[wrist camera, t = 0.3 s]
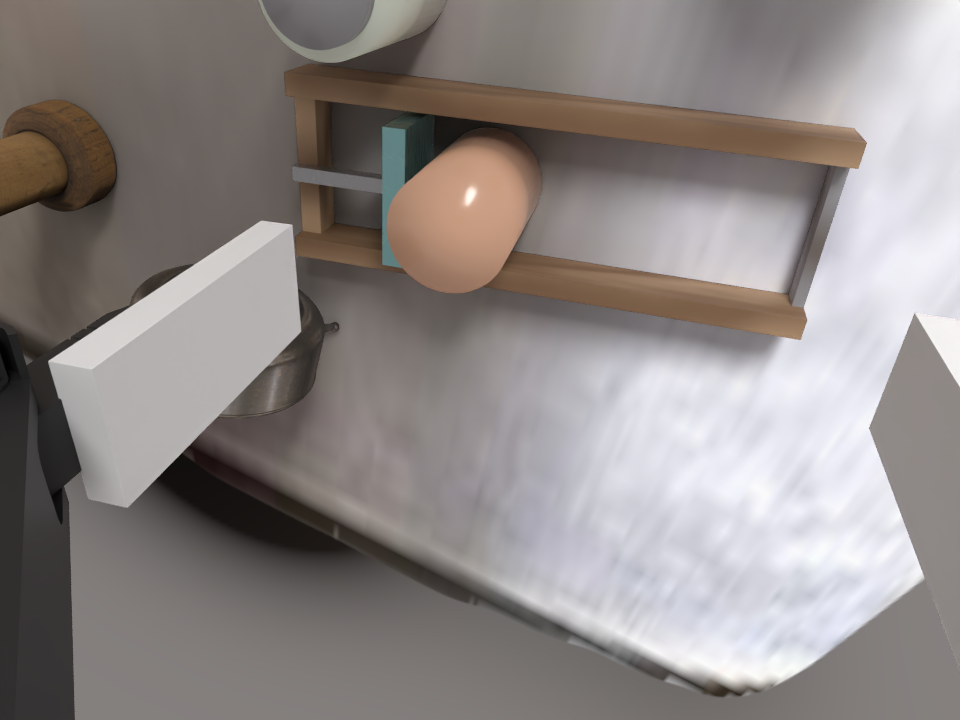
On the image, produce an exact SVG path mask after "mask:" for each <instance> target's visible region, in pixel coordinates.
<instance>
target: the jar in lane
mask: <svg viewBox="0 0 960 720" xmlns="http://www.w3.org/2000/svg"><path fill="white" fill-rule="evenodd" d="M541 191H542V173H541V169H540V166H539V163H538V160H537V158H536V156H535V155H534V153H533V152H532V150H531V149H530V148H529V146H528V145H527V144H526V143H525V142H524V141H523V140H521V139H520V138H519V137H517V136H516V135H514V134H512V133H510V132H508V131H505V130H502V129H498V128H479V129H474V130H472V131H469V132H467V133H465V134H463V135H462V136H460V137H459V138H458V139H456V140H455V141H454V142H453V143H452V144H451V145H449V146H448V147H447V148H446V149H445V150H444V151H443V152H441V153H440V154H439V155H438V156H437V157H436V158H435V159H433V160H432V161H431V162H430V163H429V164H428V165H427V166H425V167H424V168H423V169H422V170H421V171H420V172H418V173H417V174H416V175H415V176H414V177H413V178H412V179H410V180H409V181H408V182H407V183H406V184H405V185H404V186H403V187H402V188H401V189H400V190H399V191H398V192H397V194H396V195H395V197H394V199H393V200H392V202H391V205H390V208H389V211H388V215H387V236H388V241H389V244H390V247H391V250H392V252H393V254H394V256H395V258H396V260H397V261H398V263H399V264H400V266H401V267H402V268H403V269H404V270H405V271H406V272H407V274H408V275H410V276H411V277H412V278H413V279H414V280H416V281H417V282H419V283H420V284H422V285H424V286H426V287H428V288H430V289H433V290H436V291H439V292H444V293H466V292H470V291H473V290H476V289H478V288H481V287H482V286H484V285H486V284H487V283H489V282H490V281H491V280H492V279H493V278H494V277H495V276H496V275H497V274H498V273H499V271H500V270H501V268H502V267H503V265H504V263H505V261H506V260H507V258H508V256H509V254H510V252H511V251H512V249H513V247H514V245H515V244H516V242H517V240H518V238H519V237H520V235H521V233H522V231H523V229H524V228H525V226H526V224H527V222H528V221H529V219H530V217H531V215H532V213H533V212H534V210H535V208H536V206H537V204H538V202H539V199H540V196H541Z"/></svg>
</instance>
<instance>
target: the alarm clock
mask: <svg viewBox="0 0 960 720" xmlns="http://www.w3.org/2000/svg"><path fill="white" fill-rule="evenodd" d="M193 265H195V264H191V265H184V266H179V267H175V268H171V269H168V270H165V271H162V272H160V273H158V274H156V275H154V276H152V277H151V278H149V279H148V280H146V281H145V282H144V283H143V284H142V285H141V286H140V287H139V288H138V289H137V290H136V292H135V293H134V295H133V296H132V299H131V302H130V305H132V304H136V303H137V302H139V301H140V300H142V299H143V298H145V297H146V296H148V295H149V294H151V293H152V292H154V291H155V290H157V289H158V288H160V287H161V286H163V285H164V284H166V283H167V282H169V281H170V280H172V279H173V278H175V277H177V276H178V275H180V274H181V273H183V272H184V271H186V270H187V269H189V268H190V267H192V266H193ZM298 299H299V311H300V322H301V332H300V333H299V334H298V335H297V336H296V337H295V338H294V339H293V340H292V341H291V343H290V344H289V345H288V346H287V347H286V348H285V349H284V350H283V351H282V352H281V353H280V354H279V355H278V356H277V357H276V358H275V359H274V360H273V361H272V362H271V363H270V364H269V365H268V366H267V367H266V368H265V369H264V370H263V371H262V372H261V373H260V374H259V375H258V376H257V377H256V378H255V379H254V380H253V381H252V382H251V383H250V384H249V385H248V386H247V387H246V388H245V389H244V390H243V391H242V392H241V393H240V394H239V395H238V396H237V397H236V398H235V399H234V400H233V401H232V402H231V403H230V404H229V405H228V406H227V407H226V408H225V409H224V410H223V411H222V413H221V414H220V415H219V416H218V418H234V419H240V418H252V417H259V416H264V415H268V414H272V413H275V412H278V411H281V410H284V409H286V408H288V407H290V406H292V405H294V404H296V403H297V402H299V401H300V400H301V399H303V398H304V397H305V396H306V395H307V394H308V393H309V391H310V390H311V388H312V386H313V384H314V381H315V378H316V370H317V365H318V361H319V356H320V352H321V348H322V343H323V338H324V332H327V331H330V330H332V331H337V330H338V329H339V324H338V323H337V322H334V323H331V324H324V321H323V318H322V316H321V313H320V312H319V310H318V308H317V307H316V305H315V304H314V303H313V302H312V301H311V299H310V298H309V297H308V296H306V295H305V294H304V293H303V292H302V291H300V290H299V289H298Z"/></svg>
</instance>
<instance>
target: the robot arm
mask: <svg viewBox="0 0 960 720" xmlns="http://www.w3.org/2000/svg"><path fill="white" fill-rule="evenodd" d="M300 332H301V322H300V311H299V299H298V287H297V275H296V263H295V251H294V239H293V227H292V225H289V224H282V223H275V222H268V221H260V222H258V223H257V224H255V225H254V226H252V227H251V228H249V229H248V230H246V231H245V232H243V233H242V234H240V235H239V236H237V237H236V238H234V239H233V240H231V241H230V242H228V243H227V244H225V245H224V246H222V247H221V248H219V249H217V250H216V251H214V252H213V253H211V254H210V255H208V256H207V257H205V258H204V259H202V260H201V261H199V262H198V263H196V264H195V265H193V266H192V267H190V268H189V269H187V270H186V271H184V272H183V273H181V274H180V275H178V276H177V277H175V278H173V279H172V280H170V281H169V282H167V283H166V284H164V285H163V286H161V287H160V288H158V289H157V290H155V291H154V292H152V293H151V294H149V295H148V296H146V297H145V298H143V299H142V300H140V301H139V302H137V303H136V304H132V305H129V306H127V307H124V308H121V309H118V310H116V311H113V312H110V313H107V314H106V315H104V316H103V317H101V318H99V319H98V320H96V321H95V322H93V323H92V324H90V325H89V326H87V329H82V330H81V331H79V332H78V333H76V334H75V335H73V336H72V337H71V340H69V339H67V340H65V341H64V342H62V343H61V344H59V345H58V346H56V347H54V348H53V349H51V350H50V351H48V352H47V353H45V354H44V355H42V356H40V357H39V358H37V359H36V360H34V361H33V362H31V363H30V364H28V365H26V363H25V359H24V356H23V353H22V350H21V346H20V343H19V340H18V337H17V334H16V332H15V329H14V327H12V326H9V325H7V324H5V323H0V720H75V714H74V712H75V711H74V678H73V677H74V676H73V638H72V602H71V569H70V568H71V566H70V527H69V501H68V498H67V495H66V492H65V488H64V485H65V484H67V483H68V482H69V481H70V480H71V479H72V478H73V477H75V476H76V475H77V474H78V473H79V472H80V473H81V476H82V480H83V483H84V486H85V490H86V493H87V497H88V499H90V500H95V501H99V502H104V503H108V504H113V505H117V506H121V507H126V508H128V507H129V506H130V505H131V504H132V503H133V502H134V501H135V500H136V499H137V497H139V496H140V495H141V494H142V493H143V492H144V491H145V490H146V489H147V488H148V486H150V485H151V484H152V482H153V481H154V480H155V479H156V478H157V477H158V476H159V475H160V474H161V473H162V472H163V471H164V470H165V469H166V468H167V467H168V466H169V465H170V464H171V463H172V462H173V461H174V460H175V459H176V458H177V457H178V456H179V455H180V454H181V453H182V452H183V451H184V450H185V449H186V448H187V447H188V446H189V445H190V444H191V443H192V442H193V441H194V440H195V439H196V438H197V437H198V436H199V435H200V434H201V433H202V432H203V431H204V430H205V429H206V428H207V427H208V426H209V425H210V424H211V423H212V422H213V421H214V420H215V419H216V418H217V417H218V416H219V415H220V414H221V413H222V411H223V410H224V409H225V408H226V407H227V406H228V405H229V404H230V403H231V402H232V401H233V400H234V399H235V398H236V397H237V396H238V395H239V394H240V393H241V392H242V391H243V390H244V389H245V388H246V387H247V386H248V385H249V384H250V383H251V382H252V381H253V380H254V379H255V378H256V377H257V376H258V375H259V374H260V373H261V372H262V371H263V370H264V369H265V368H266V367H267V366H268V365H269V364H270V363H271V362H272V361H273V360H274V359H275V358H276V357H277V356H278V355H279V354H280V353H281V352H282V351H283V350H284V349H285V348H286V347H287V346H288V345H289V344H290V343H291V341H292V340H293V339H294V338H295V337H296V336H297V335H298V334H299V333H300ZM869 429H870V432H871V434H872V437H873V440H874V442H875V445H876V448H877V451H878V453H879V456H880V459H881V461H882V464H883V467H884V469H885V472H886V475H887V477H888V480H889V483H890V486H891V488H892V491H893V494H894V496H895V499H896V502H897V504H898V507H899V510H900V512H901V515H902V518H903V521H904V523H905V526H906V529H907V531H908V534H909V537H910V539H911V542H912V545H913V547H914V550H915V553H916V556H917V558H918V561H919V564H920V566H921V569H922V572H923V574H924V577H925V580H926V582H927V585H928V588H929V590H930V593H931V596H932V599H933V601H934V604H935V607H936V609H937V612H938V615H939V617H940V620H941V623H942V625H943V628H944V631H945V634H946V636H947V639H948V641H949V644H950V647H951V650H952V652H953V655H954V658H955V660H956V663H957V666H958V669H959V671H960V322H959V321H958V319H953V318H946V317H939V316H931V315H924V314H917V313H915V314H914V316H913V319H912V321H911V324H910V326H909V329H908V331H907V334H906V336H905V339H904V341H903V344H902V347H901V349H900V352H899V354H898V357H897V359H896V362H895V364H894V367H893V369H892V372H891V374H890V377H889V379H888V382H887V384H886V387H885V389H884V392H883V394H882V397H881V400H880V402H879V405H878V407H877V410H876V412H875V415H874V417H873V420H872V422H871V425H870V427H869Z"/></svg>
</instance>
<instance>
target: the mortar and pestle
mask: <svg viewBox="0 0 960 720" xmlns="http://www.w3.org/2000/svg"><path fill="white" fill-rule="evenodd" d="M115 179H116V165H115V160H114V153H113V150H112V147H111V145H110V142H109V140H108V138H107V136H106V135H105V133H104V132H103V130H102V129H101V127H100V126H99V125H98V123H97V122H96V121H95V120H94V119H93V118H92V117H91V116H90V115H89V114H88V113H87V112H85V111H84V110H82V109H81V108H79V107H78V106H76V105H74V104H72V103H69V102H66V101H62V100H49V101H44V102H41V103H37V104H34V105H30V106H27V107H23V108H21V109H19V110H17V111H15V112H14V113H13V114H12V115H11V116H10V117H9V119H8V120H7V122H6V124H5V127H4V131H3V139H0V216H2V215H5V214H7V213H10V212H12V211H15V210H17V209H20V208H23V207H25V206H28V205H30V204H33V203H36V202H39V203H41V204H42V205H44V206H46V207H48V208H51V209H54V210H57V211H64V212H67V211H74V210H78V209H80V208H83V207H85V206H88V205H90V204H92V203H95V202H97V201H99V200H101V199H103V198H104V197H105V196H106V195H107V194H108V193H109V192H110V191H111V189H112V188H113V185H114V182H115Z"/></svg>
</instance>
